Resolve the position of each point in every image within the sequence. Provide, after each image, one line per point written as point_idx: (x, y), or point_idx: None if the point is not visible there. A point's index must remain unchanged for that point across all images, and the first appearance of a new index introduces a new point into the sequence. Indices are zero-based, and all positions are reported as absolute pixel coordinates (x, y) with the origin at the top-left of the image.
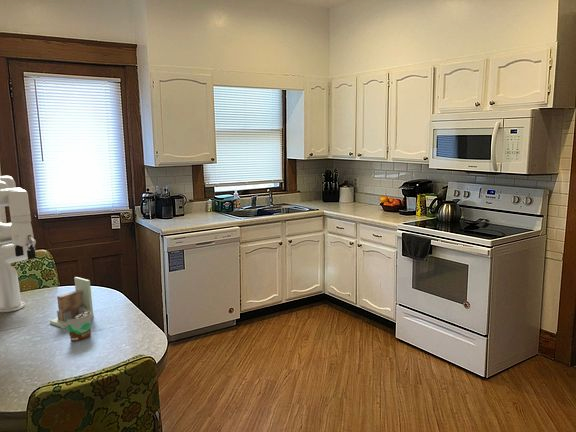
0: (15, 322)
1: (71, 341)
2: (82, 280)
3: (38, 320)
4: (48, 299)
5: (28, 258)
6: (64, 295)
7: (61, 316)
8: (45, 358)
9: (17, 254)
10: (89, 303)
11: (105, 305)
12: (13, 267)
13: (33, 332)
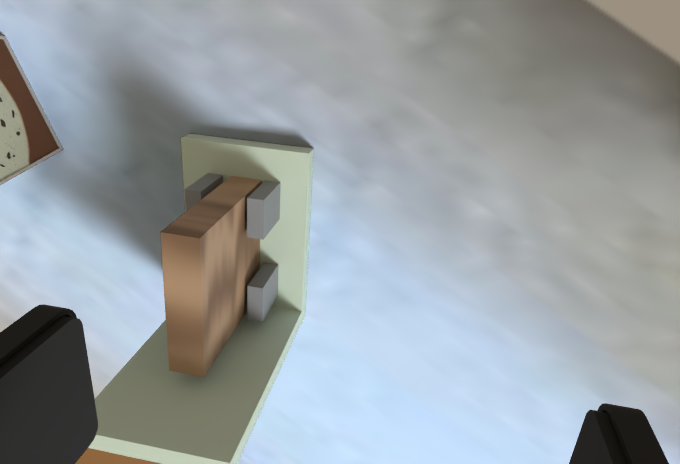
0: (540, 61)
1: (2, 37)
2: (131, 436)
3: (422, 150)
4: (664, 394)
5: (24, 317)
6: (177, 273)
7: (231, 185)
8: None
9: (600, 459)
10: (161, 328)
11: (277, 413)
12: None
13: (282, 14)
